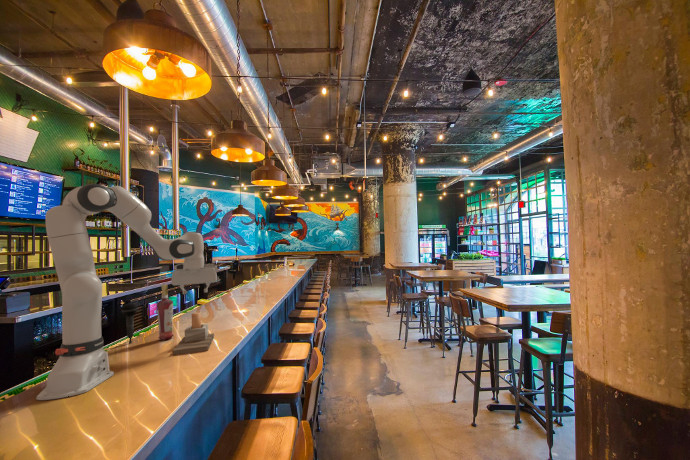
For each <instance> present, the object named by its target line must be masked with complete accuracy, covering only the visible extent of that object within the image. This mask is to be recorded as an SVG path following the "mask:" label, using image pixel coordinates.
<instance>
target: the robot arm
mask: <svg viewBox="0 0 690 460" xmlns="http://www.w3.org/2000/svg"><path fill="white" fill-rule="evenodd" d="M105 211H108V212H109V213H111V214H113V215H114V216H115V217H116V218H117V219H118V220H120V221H121V222H122V223H123V224H124V225H126V226H127V227H128V228H130V229H131V230H133V232H134V233H136V234H137V236H138V237H140V239H142V240H143V241H144V242H145V243H146V244H147V245H149V247H150V248H151V249H152V251H153V254H154V255H155V257H156V258H157V259H159V260H161V261H171V260H182V259H183V261H184V262H180V263H179V264H178V263H177V264H176V265H173V269H174V270H173V272H172V273H171V274H172V275H171V282H170V283H171V285H172V286H179V288H180V289H181V291H182V295H187V292H188V291H187V289H185V288H184V287H185V285H199V284H205V286H206V287H205V288H204V289H203V293H208V288H209V287H210V285H211V283H216V282H217V281H218V275H217V272H218V266H217V264H215V263H206V264H205V255H204V252H205V251H204V249H205V247H204V245H205V244H204V243H205V242H204V237H203V234H201V233H200V232H196V231H186V232H185V233H184V234H182V235H181V236H179V237H176V238H172V239H167V238H164V237H162V235H160V233H158V232H157V231H156V230H155V229H154V228H153V227H152V225H151V224H150V222H151V221H152V211H151V210H150V209H149V206H147V205H146V204H145V203H144V202H143V201H142V200H141V199H139V197H137V196H136V195H135V194H134V193H132V192H130V191H129V190H127V189H126V188H124V187H122V186H120V185H113V186H110V187H108V186H107V187H106V186H105V185H102V184H98V183H87V184H84V185H82V186H81V185H80V186H77V187H75V188H73V189H71V190H70V191H68V192H66V193H65V194H64V196H63V197H62V199H61V202H60V204H59V205H56V206H53V207H51V208H49V209H48V210H47V211H45V212H46V213H45V230H46V236H47V239H48V240H47V241H48V244H49V248H50V252H51V254H52V260H53V263H54V267H55V271H56V275H57V279H58V282H59V286H60V291H61V296H62V297H61V301H62V302H61V305H62V306H61V313H62V314H61V315H62V316H61V318H62V319H61V328H62V331H61V332H62V334H61V335H62V343H61V345H60V348H56V349H55V351H54V352H55V355H56V356H59V357H58V359H57V361H56V363H55V364H54V365H53V367H52V369H51V370H50V371H49V374H48V376H47V377H46V386H45V388H43V390H42V391H41V392H39V393H38V395H36V398H35V399H36V400H37V401H47V400H48V401H49V400H56V399H62V398H67V397H68V396H69V397H73V396H76V395H77V396H78V395H80V394H84V393H87V392H89V391H90V390H92V389H94V388H95V387H97V386H99V385H100V384H101V383H103V382H104V381H106V380H108V379H109V378H110V377H112V376H114V375H115V374H114V373H115V372H114V371H112V370H110V364H109V363H110V361H109V354H108V352H107V351H106V350H105V349H104V337H103V336H102V308H103V307H102V306H103V303H102V301H103V284H102V280H101V279H100V278H99V277H98V275H97V271H96V266H95V260H94V254H93V248H92V245H91V241H90V237H89V233H88V230H87V227H86V219H87V217H88V216H92V215H96V214H99V213H101V212H105ZM69 397H68V398H69Z"/></svg>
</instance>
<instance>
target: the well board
mask: <svg viewBox="0 0 690 460" xmlns="http://www.w3.org/2000/svg"><path fill="white" fill-rule="evenodd" d="M214 339H215V333H214V332H213V333H212V332H211V333H209V324H208V323H203V324H202V323H201V328H195V329H192V325H187V326H186V328H185V329H184V336H183V337H182V338H181V340H180V341H179V342H178V344H177V345H176V346H175V347H174V349H173V350H172V356H178V355H185V354H193V353H199V352H200V353H201V352H207V351H209V349H210V347H211V345H212V343H213V341H214Z"/></svg>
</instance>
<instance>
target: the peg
mask: <svg viewBox="0 0 690 460" xmlns="http://www.w3.org/2000/svg"><path fill="white" fill-rule="evenodd" d="M201 319H202V316H201V312H193V313H191V326H192V329H195V328H201V324H202V320H201Z"/></svg>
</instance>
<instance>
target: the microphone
mask: <svg viewBox="0 0 690 460" xmlns="http://www.w3.org/2000/svg"><path fill="white" fill-rule="evenodd" d="M138 309H139V308H138V306H137V305H136V304H135V303H131V302H129V303H126V304H124V305H123V306H122V308H121V311H120V312H121V313H122V315H123V316H124V317H125V322H126V325H125V326H126V337H127V338H128V339H129V341H128V344H130V343H131V344H132V343H133V341H132V339H133V337H134V322H135V321H134V315H136V313H137V312H138Z"/></svg>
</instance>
